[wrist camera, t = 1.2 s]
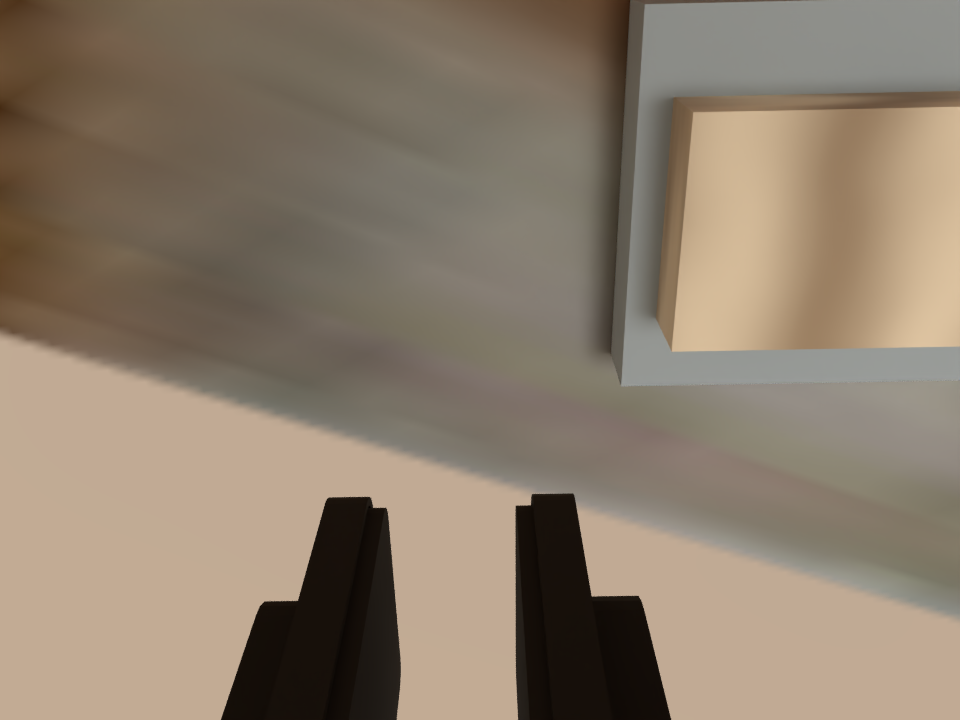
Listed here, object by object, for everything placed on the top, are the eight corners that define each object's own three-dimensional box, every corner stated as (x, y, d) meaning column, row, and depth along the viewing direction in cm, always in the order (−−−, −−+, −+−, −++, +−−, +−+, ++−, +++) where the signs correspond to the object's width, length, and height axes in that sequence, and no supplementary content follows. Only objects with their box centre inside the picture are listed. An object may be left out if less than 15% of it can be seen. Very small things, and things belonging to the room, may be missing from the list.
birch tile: (1020, 89, 24) (1076, 104, 22) (962, 312, 27) (1006, 345, 25) (673, 96, 24) (693, 112, 22) (655, 318, 27) (671, 351, 25)
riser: (1094, -12, 25) (1154, -8, 23) (994, 347, 31) (1034, 378, 28) (630, -1, 25) (644, 4, 23) (611, 354, 31) (621, 386, 28)
